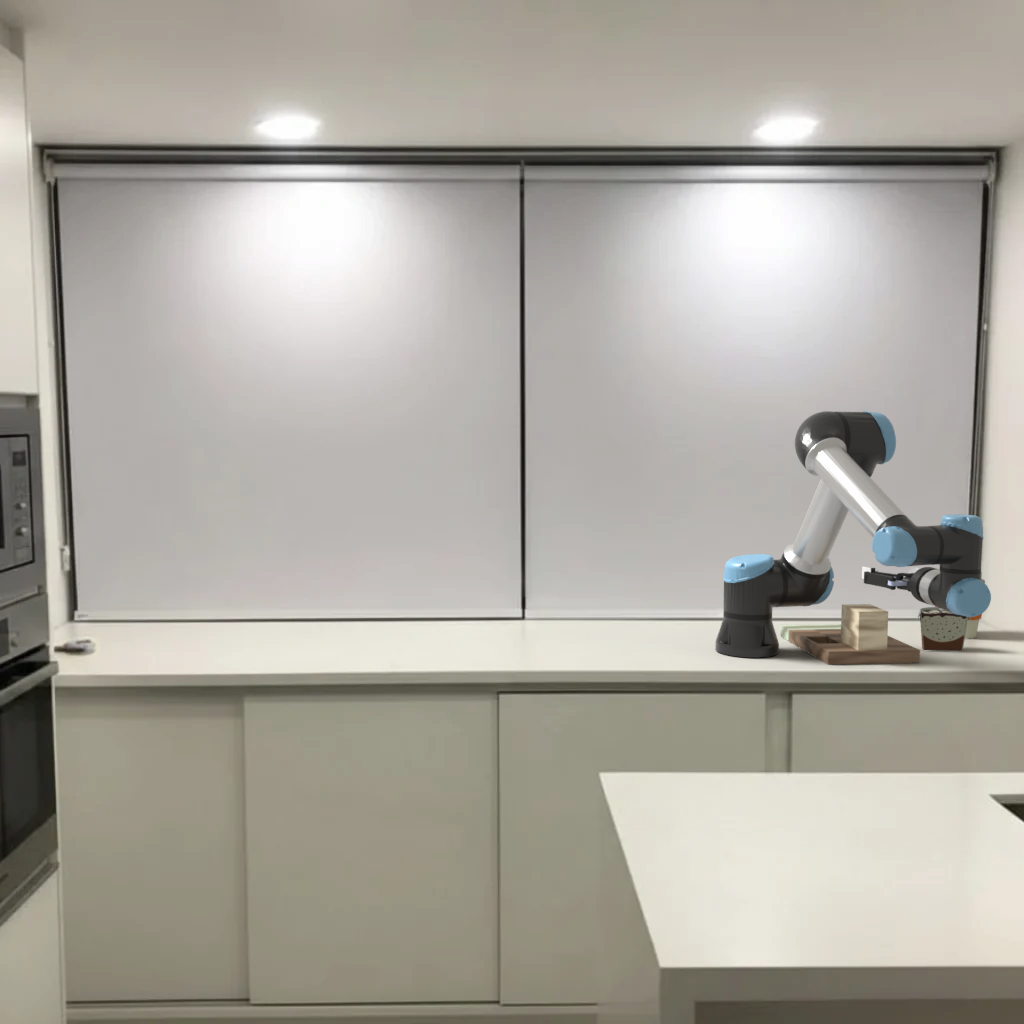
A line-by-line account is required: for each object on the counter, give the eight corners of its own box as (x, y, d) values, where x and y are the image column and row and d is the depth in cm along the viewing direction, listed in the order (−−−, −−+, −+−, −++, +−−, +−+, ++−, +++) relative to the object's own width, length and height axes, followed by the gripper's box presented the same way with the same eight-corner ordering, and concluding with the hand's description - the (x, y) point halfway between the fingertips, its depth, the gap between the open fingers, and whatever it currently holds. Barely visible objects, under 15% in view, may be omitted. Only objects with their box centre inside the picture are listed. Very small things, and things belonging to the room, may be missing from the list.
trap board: (919, 662, 245) (920, 650, 245) (828, 664, 243) (828, 651, 243) (861, 635, 277) (861, 624, 276) (780, 636, 275) (780, 625, 274)
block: (887, 649, 245) (888, 611, 244) (858, 650, 244) (859, 611, 243) (868, 640, 255) (869, 604, 254) (840, 641, 254) (841, 604, 253)
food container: (960, 646, 263) (962, 607, 262) (969, 651, 257) (970, 611, 256) (910, 645, 264) (911, 606, 263) (917, 650, 258) (918, 610, 257)
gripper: (881, 606, 214) (837, 589, 237) (987, 604, 217) (933, 588, 239) (882, 569, 214) (838, 556, 236) (988, 568, 216) (935, 555, 238)
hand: (886, 572), depth 237 cm, fingers open, 10 cm apart
